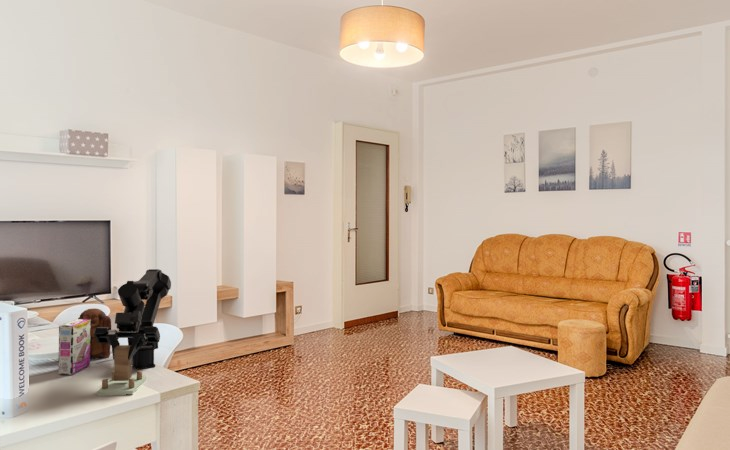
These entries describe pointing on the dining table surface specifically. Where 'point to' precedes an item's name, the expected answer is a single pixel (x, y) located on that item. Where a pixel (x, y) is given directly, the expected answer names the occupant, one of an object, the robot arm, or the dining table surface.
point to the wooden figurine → (97, 320)
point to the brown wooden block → (122, 363)
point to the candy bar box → (74, 346)
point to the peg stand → (121, 385)
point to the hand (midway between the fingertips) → (121, 359)
